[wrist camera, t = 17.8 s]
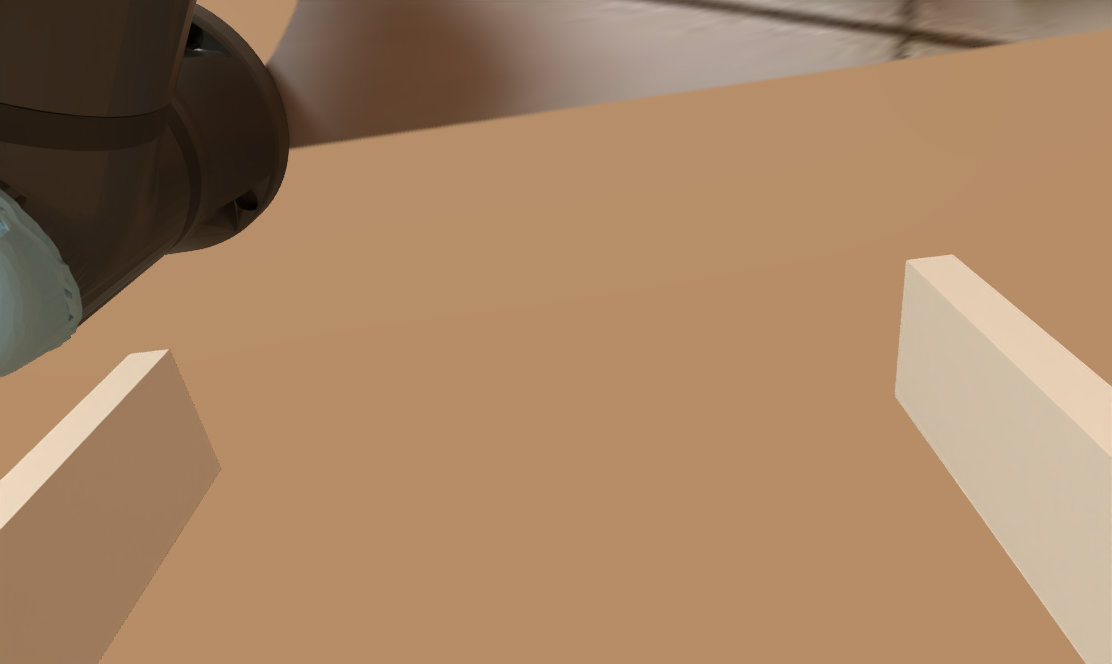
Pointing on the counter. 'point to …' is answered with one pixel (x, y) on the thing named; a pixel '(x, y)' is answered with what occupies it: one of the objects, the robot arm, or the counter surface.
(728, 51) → the counter surface
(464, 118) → the counter surface
